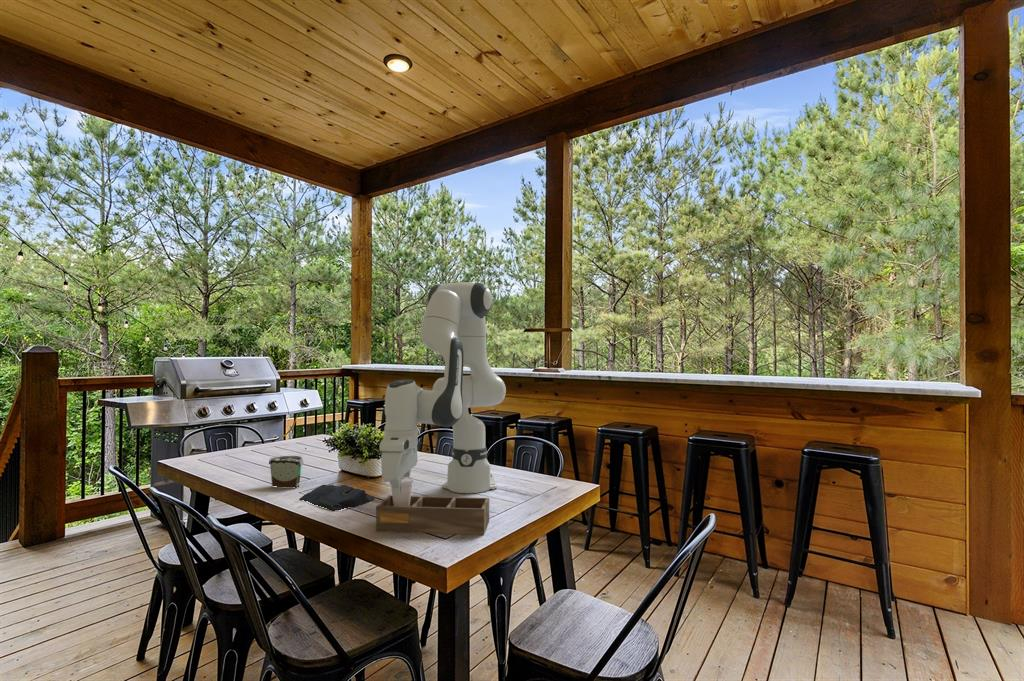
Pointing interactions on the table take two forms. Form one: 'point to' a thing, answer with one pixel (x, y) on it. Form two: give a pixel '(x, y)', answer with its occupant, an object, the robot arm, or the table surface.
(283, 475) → the food container
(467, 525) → the caddy
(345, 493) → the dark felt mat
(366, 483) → the table surface
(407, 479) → the smoothie
